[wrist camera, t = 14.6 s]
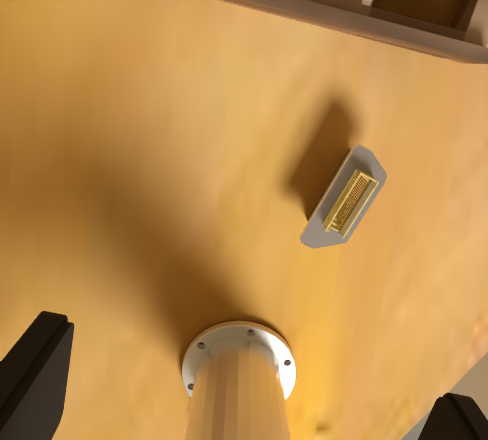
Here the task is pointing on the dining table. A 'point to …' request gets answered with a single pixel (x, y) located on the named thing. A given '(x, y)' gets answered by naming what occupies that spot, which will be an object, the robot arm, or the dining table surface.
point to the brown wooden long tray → (392, 25)
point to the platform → (344, 200)
